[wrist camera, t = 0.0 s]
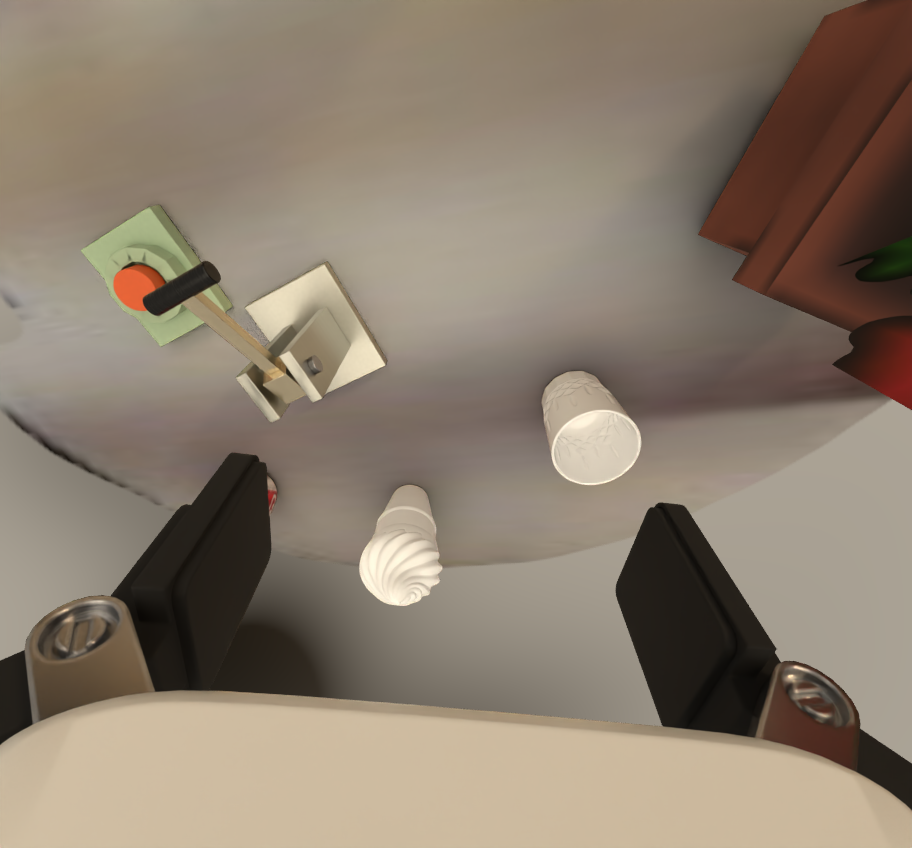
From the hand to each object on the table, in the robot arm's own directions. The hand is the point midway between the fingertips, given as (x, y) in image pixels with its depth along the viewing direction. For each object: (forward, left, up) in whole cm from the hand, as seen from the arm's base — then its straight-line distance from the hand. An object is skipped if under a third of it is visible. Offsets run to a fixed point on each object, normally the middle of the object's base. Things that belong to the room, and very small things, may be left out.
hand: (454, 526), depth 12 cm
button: (-10, -26, -34) cm, 44 cm away
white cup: (+19, +4, -38) cm, 42 cm away
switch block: (-10, -26, -37) cm, 46 cm away
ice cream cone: (+23, -18, -38) cm, 47 cm away
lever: (-4, -16, -25) cm, 30 cm away
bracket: (+1, -16, -37) cm, 40 cm away
